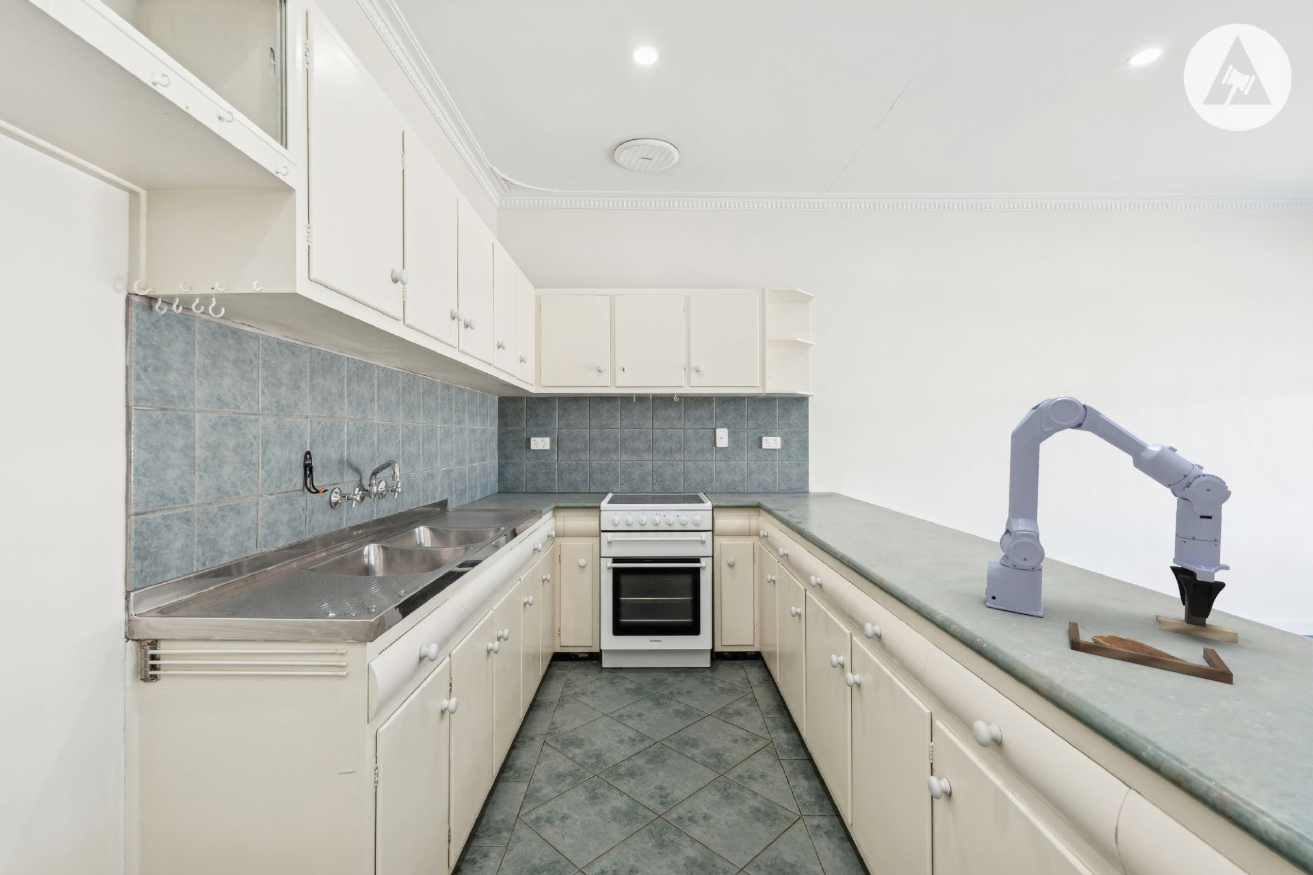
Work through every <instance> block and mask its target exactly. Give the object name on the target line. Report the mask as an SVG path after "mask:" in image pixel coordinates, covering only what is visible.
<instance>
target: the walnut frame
mask: <svg viewBox="0 0 1313 875" xmlns="http://www.w3.org/2000/svg"><path fill="white" fill-rule="evenodd" d="M1079 631H1080V630H1079V624H1078V622H1073V621H1069V622H1068V634H1069V644H1070V650H1073V651H1074V650H1075V651H1078V652H1083V653H1088V654H1092V655H1098V656H1101V657H1102V656H1103V657H1106V658H1112V659H1115V660H1119V661H1125V662H1130V663H1133V664H1138V665H1143V666H1148V667H1151V668H1157V669H1161V670H1166V671H1169V672H1170V671H1171V672H1173V673H1174V672H1176V673H1179V674H1185V675H1188V676H1189V675H1190V676H1194V677H1198V678H1203V679H1206V680H1212V681H1216V682H1221V683H1226V684H1231V685H1233V684H1234V683H1233V682H1234V674H1233V672H1232V671H1231V669H1230V668H1229V667H1228V666H1227V664H1226V662H1225V661H1224V660H1223V659H1222V658H1221V656H1220V655H1219V654H1218V653H1217V651H1216V649H1214V648H1209V647H1206V646H1205V647H1204V646H1203V650H1202V657H1203V658H1204V659H1205V661H1206V663H1207V664H1208V665H1202V664H1199V663H1195V662H1190V661H1187V662H1185V661H1186V660H1185V661H1180V660H1175V659H1170V658H1166V657H1161V656H1156V655H1151V654H1146V653H1141V652H1136V651H1132V650H1127V649H1122V648H1117V647H1112V646H1107V645H1103V644H1098V643H1094V642H1093V641H1088V640H1082V639H1081V637H1080V632H1079Z"/></svg>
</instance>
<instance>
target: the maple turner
mask: <svg viewBox="0 0 1313 875" xmlns="http://www.w3.org/2000/svg"><path fill="white" fill-rule="evenodd" d="M1155 626H1156V629H1158V630H1161V631H1168V632H1172V633H1178V634H1183V635H1188V636H1194V637H1199V638H1205V639H1210V640H1217V641H1221V642H1226V643H1232V644H1239V640H1238V639H1239V637H1238V636H1239V633H1238V631H1236V630H1235V628H1233V627H1229V626H1222V625H1219V624H1218V625H1217V624H1211V623H1207V618H1201V617H1195V616H1191V615H1190V612H1189V609H1188V603H1187V596H1186V594H1185V606H1184V619H1182V618H1177V617H1176V618H1175V617H1169V616H1164V615H1157V614H1155Z"/></svg>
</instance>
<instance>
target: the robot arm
mask: <svg viewBox="0 0 1313 875" xmlns="http://www.w3.org/2000/svg"><path fill="white" fill-rule="evenodd" d="M1017 424H1018V425H1017V426H1016V427H1015V428H1014V429H1013V430H1012V432H1011V436H1010V455H1009V457H1010V460H1009V481H1008V482H1009V484H1008V486H1009V488H1008V490H1009V491H1008V517H1007V520H1006V522H1005V529H1004V533H1003V534H1002V535H1001V537H1000V539H999V546H1000V549H1001V550H1002V552H1003V555H1002V556H1001V557H1000V558H999V561H992V560H991V561H988V562H987V563H988V564H987V573H986V574H987V575H986V576H987V578H986V587H985V596H986V603H985V606H986V607H988V608H995V609H997V610H1004V611H1009V612H1015V613H1021V614H1025V615H1031V616H1035V617H1042V618H1043V617H1044V610H1045V609H1044V607H1045V606H1044V605H1045V604H1043V603H1042V592H1043V591H1042V590H1043V565H1042V563H1043V561H1044V559H1045V555H1046V553H1045V549H1044V547H1043V545H1042V543H1041V540H1040V530H1039V526H1038V506H1039V505H1038V504H1039V502H1038V500H1039V479H1040V478H1039V477H1040V474H1039V473H1040V451H1041V450H1040V446H1041V444H1042V443H1043V442H1045V441H1046V440H1047V439H1049V438H1051V437H1053V435H1055V434H1057V433H1060V432H1062V431H1066V430H1069V429H1070V430H1076V431H1083V432H1089V433H1092V434H1094V435H1095V436H1097V437H1099V438H1100V439H1102V440H1104V441H1105V442H1107V443H1109V445H1110V444H1111V446H1114V447H1115V448H1117V449H1118V450H1120V451H1121V452H1124V453H1125V454H1127V455H1128V456H1130V457H1131V458H1132V464H1133V467H1134V468H1135V469H1138V471H1140V472H1142V473H1143V474H1145V475H1147V476H1148V477H1149V478H1151V479H1152V480H1154V481H1156V482H1157V483H1159V484H1160V485H1162V486H1163V487H1165V488H1166V489H1169V490H1170V492H1171V494H1172V495H1173V496H1174V498H1176V499H1177V500H1176V511H1175V514H1176V515H1175V531H1174V532H1175V533H1174V534H1175V535H1174V537H1175V538H1174V558H1172V563H1173V564H1174V565H1170V566H1169V568H1170V570H1171V572H1172V574H1173V575H1174V578H1175V580H1176V583H1177V586H1178V587H1177V588H1178V592H1179V597H1180V602H1181V603H1182V606H1183V607H1185V594H1186V596H1187V603H1188V609H1189V612H1190V615H1191V616H1195V617H1201V618H1206V619H1209V617H1210V615H1211V612H1212V609H1213V606H1214V604H1215V601H1216V598H1217V597H1218V595H1219V594H1220V593H1221V591H1223V590H1224V589H1225V588H1226V585H1227V584H1226V582H1224V581H1219V580H1215V575H1216V573H1217V572H1220V571H1221V570H1222V571H1230V569H1231V566H1229V565H1228V564H1226V563H1225V564H1224V563H1221V546H1222V544H1221V542H1222V541H1221V540H1222V520H1223V516H1222V515H1223V513H1222V512H1223V511H1222V510H1223V505H1224V504H1225V503H1226V502H1228V500H1229V499H1230V497H1231V495H1232V491H1231V490H1230V489H1229V487H1228V485H1227V483H1226V481H1224V480H1223V479H1222V478H1221V477H1219V476H1217V475H1214V474H1210V473H1204V472H1203V470H1204V468H1205V467H1204V466H1203V465H1201V464H1200V463H1192V462H1191V461H1189V460H1187V459H1186V458H1185V457H1183V456H1181V455H1180V454H1178V453H1177V451H1178V449H1177V448H1175V447H1174V446H1172V445H1166V446H1165V445H1163V444H1162V443H1153V444H1148V443H1146V442H1144V441H1143V440H1141V439H1140V438H1139V437H1138V436H1136V435H1134V434H1133V433H1132V432H1130V431H1128V430H1127V429H1126V428H1124V427H1123V426H1121V425H1120V424H1118V423H1117V422H1115V421H1114V420H1112V419H1111V418H1110V417H1108V416H1106V415H1105V414H1104V413H1102V412H1100V411H1099V410H1097V409H1096V408H1094V407H1092V406H1090V405H1089V404H1086V403H1082V402H1081V401H1080V400H1078V399H1077V398H1075V397H1072V396H1068V395H1063V396H1061V395H1060V396H1057V397H1054V398H1048V399H1044V400H1042V401H1041V402H1039V403H1038V404H1035V405H1034V406H1032V407H1031V408H1029V410H1028V412H1027V414H1026V415H1025V416H1023V418H1022V420H1021V421H1020V422H1019V423H1017Z"/></svg>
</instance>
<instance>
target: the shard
mask: <svg viewBox="0 0 1313 875" xmlns="http://www.w3.org/2000/svg"><path fill="white" fill-rule="evenodd" d="M1091 640H1092V642H1093V643H1098V644H1103V645H1107V646H1112V647H1117V648H1122V649H1127V650H1132V651H1136V652H1141V653H1146V654H1151V655H1156V656H1161V657H1166V658H1170V659H1175V660H1180V661H1185V662H1188V661H1187V660H1185V659H1182V658H1180V657H1177V656H1174V655H1171V654H1170V653H1167V652H1165V651H1163V650H1161V649H1158V648H1156V647H1153V646H1150V645H1148V644H1145V643H1142V642H1140V641H1137V640H1134V639H1132V638H1129V637H1121V636H1119V635H1110V634H1108V635H1093V636H1091Z"/></svg>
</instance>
